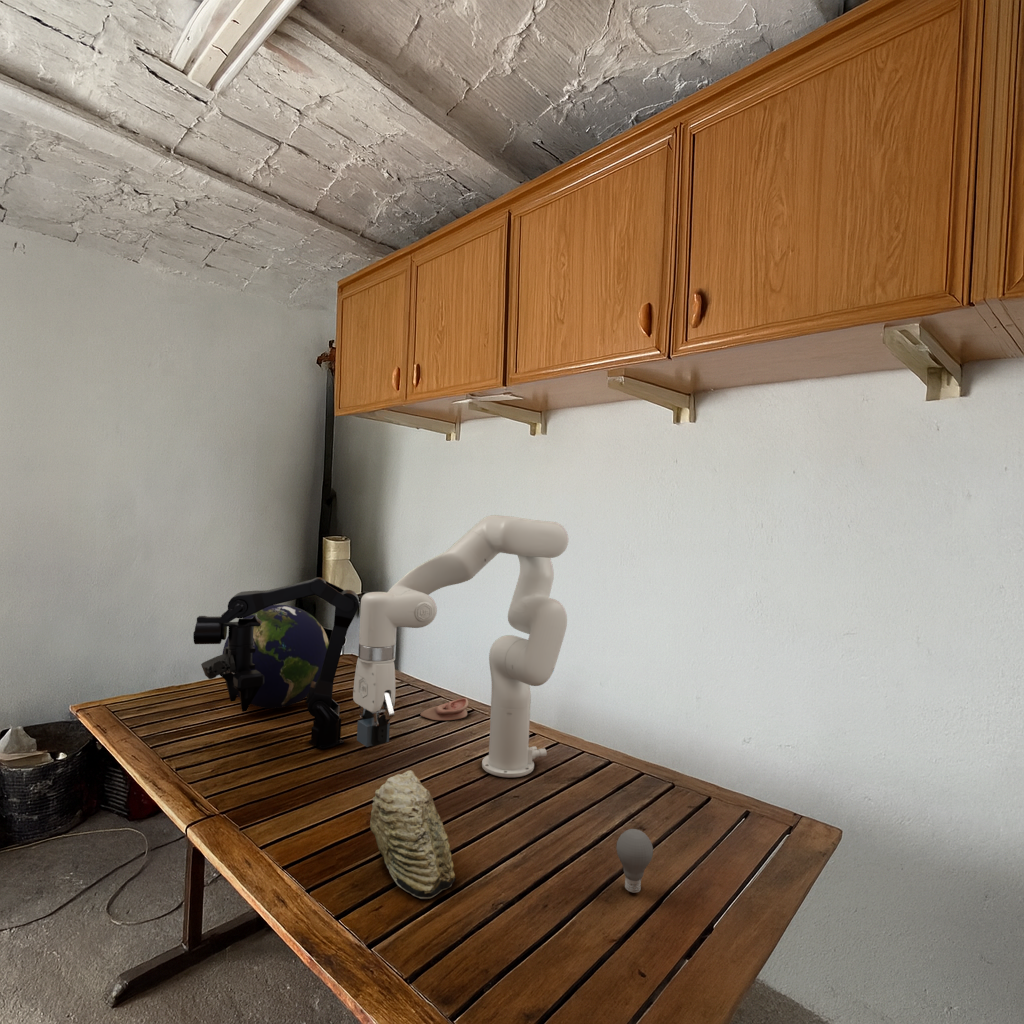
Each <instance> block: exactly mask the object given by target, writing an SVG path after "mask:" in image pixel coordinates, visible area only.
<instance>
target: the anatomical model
mask: <svg viewBox="0 0 1024 1024" xmlns="http://www.w3.org/2000/svg"><path fill="white" fill-rule="evenodd" d="M468 706H469V700H468V698H467V697H463V698H462V697H461V698H458V699H454V700H451V701H448V702H445V703H441V704H440V705H436V706H433V707H432V706H431V707H429V708H427V709H424V710H423V711H421V712H420V713H419V714H420V716H421V717H423V718H426V719H429V720H432V721H453V720H460V719H464V718H466V717H467V716H468V711H467V708H468Z"/></svg>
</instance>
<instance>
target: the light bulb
mask: <svg viewBox="0 0 1024 1024" xmlns="http://www.w3.org/2000/svg"><path fill="white" fill-rule="evenodd" d="M615 849H616V854H617V857H618V859H619V861H620V863H621V865H622V867H623V873H624V874H623V875H624V876H625V878H624V888H625V890H627V891H628V892H630V893H634V894H635V893H639V892H640V891H641V889H642V887H641V886H642V879H643V877H644V875H645V871H646V868H647V867H648V866H649V864H650V863H651V861H652V859H653V855H654V847H653V843H652V841H651V838H649V836H648V835H647V834H646V833H645V832H643V831H642V830H641V829H636V828H629V829H627V830H625V831H623V832H622V833H621V834H620V835H619V837H618V839H617V841H616V847H615Z"/></svg>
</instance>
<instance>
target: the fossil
mask: <svg viewBox="0 0 1024 1024" xmlns="http://www.w3.org/2000/svg"><path fill="white" fill-rule="evenodd" d="M374 794H375V796H373V797H372V804H371V806H372V809H371V812H370V821H369V827H370V832H371V833H372V834H373V836H374V837H375V842H376V845H377V848H378V851H379V853H380V854H381V856H382V857H383V860H384V864H385V866H386V868H387V869H388V872H389V874H390V876H391V878H392V880H393V881H394V882H395V884H396V885H397V886H398V887H399V888H400V889H401V890H403V891H404V892H407V893H408V894H411V896H413V897H415V898H418V899H420V900H428V899H429V900H430V899H432V898H435V896H437V895H438V894H440V893H441V892H442V891H444V890H447V889H449V888H451V887H452V885H453V883H454V882H455V881H456V874H455V871H454V866H455V864H454V861H453V860H452V858H453V857H452V852H451V845H450V843H449V842H450V841H449V836H448V834H447V832H446V829H445V827H444V823H443V821H442V818H441V816H440V815H439V812H438V810H437V807H436V804H435V801H434V799H433V796H432V795H431V791H430V790H428V789H426V787H425V786H424V785H423V784H422V782H421V780H420V779H419V777H417V776H416V774H415V772H414V771H413V770H411V769H410V770H407V771H405V772H403V773H402V774H401V773H397V774H395V775H394V776H390V777H388V778H387V779H386V781H385V783H383V784H382V785H381V786H380V788H378V789H376V790H375V792H374Z"/></svg>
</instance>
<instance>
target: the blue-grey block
mask: <svg viewBox="0 0 1024 1024" xmlns="http://www.w3.org/2000/svg"><path fill="white" fill-rule="evenodd" d="M380 716H381V715H379V718H380ZM373 725H374V717H373V718H368V719H363V720H361V719H359V720H357V728H356V742H358V743H360V744H361V745H363V746H364V747H366V748H368V747H372V746H373V745H372V726H373ZM390 728H391V722H390V721H389V724H387V742H386V743H389V742H390ZM373 747H374V746H373Z"/></svg>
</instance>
